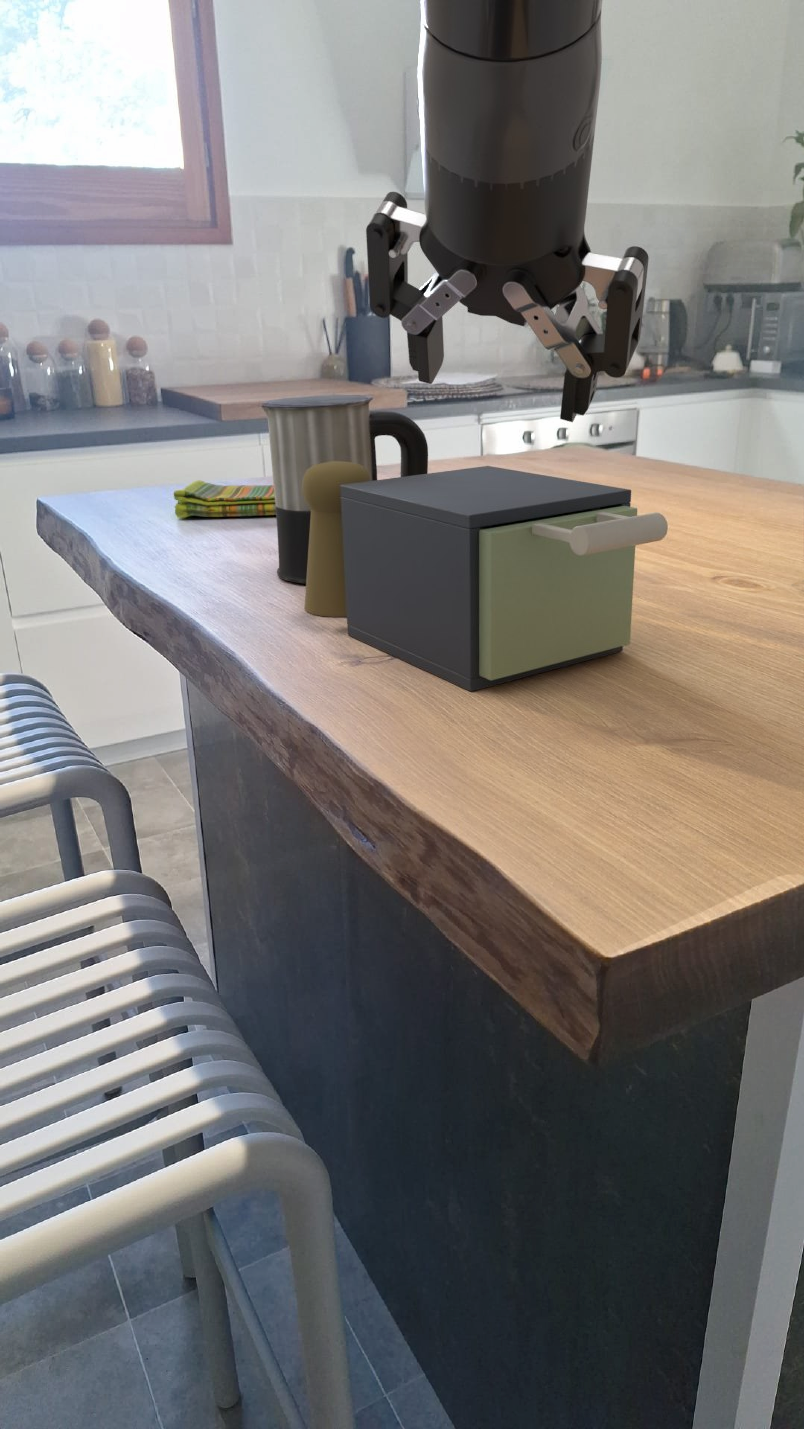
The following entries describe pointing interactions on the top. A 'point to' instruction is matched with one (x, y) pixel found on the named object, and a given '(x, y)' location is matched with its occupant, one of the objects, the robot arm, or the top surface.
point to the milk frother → (327, 457)
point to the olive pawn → (327, 535)
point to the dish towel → (224, 500)
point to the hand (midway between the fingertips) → (500, 391)
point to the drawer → (558, 586)
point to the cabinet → (441, 559)
